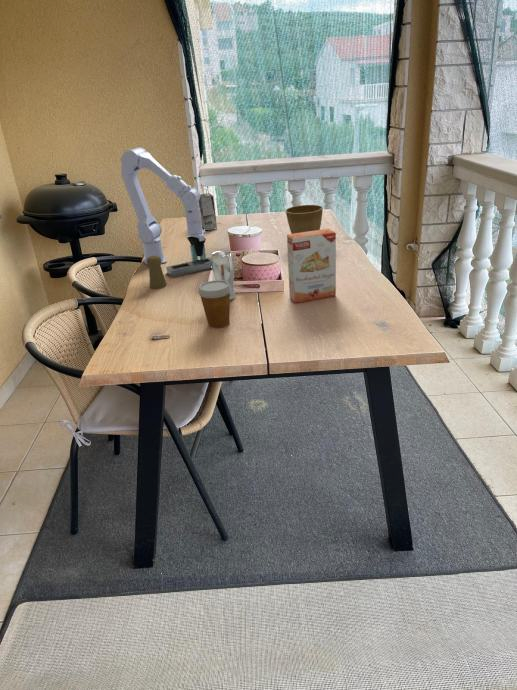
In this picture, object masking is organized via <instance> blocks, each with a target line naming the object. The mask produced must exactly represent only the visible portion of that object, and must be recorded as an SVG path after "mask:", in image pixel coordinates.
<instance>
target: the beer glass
mask: <svg viewBox="0 0 517 690" xmlns="http://www.w3.org/2000/svg"><path fill="white" fill-rule="evenodd" d="M211 258H212V268H211V269H212V274H213V277H214V281H215V280H222V281H226V282H228V283H229V285H230V287H231V291H230V301H232V300H234V299H235V298H236V296H237V295H236V292H235V288H234V287H235V286H234V280H235V277H234V276H235V264H234V258H233V253H232V251H230V250H219V251H218V250H217V251H215V252H213V253H211Z"/></svg>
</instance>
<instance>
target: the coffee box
mask: <svg viewBox="0 0 517 690" xmlns="http://www.w3.org/2000/svg"><path fill="white" fill-rule="evenodd" d="M198 202H199V208H200V215H201V222H202V227H203V228H204V229H205V230H208V231H210V230H209V229H214V230H216V229H215V228H217V229H218V224H217V217H216V208H215V207H216V206H215V199H214V195H213V194H211V193H210V192H208V193H202V194H201V193H200V199H199V201H198ZM203 228H202V229H203ZM204 229H203V230H204Z"/></svg>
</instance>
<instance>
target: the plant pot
mask: <svg viewBox="0 0 517 690" xmlns="http://www.w3.org/2000/svg"><path fill="white" fill-rule="evenodd" d="M323 210H324V209H323V206H322V205H319V204H302V205H301V204H300V205H295V206H291V207H289V208H286V209H285V215H286V218H287V224H288V227H289V231H290V234H294V233H301V232H308V231H315V230H321V226H322V219H323V212H324V211H323Z"/></svg>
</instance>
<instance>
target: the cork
mask: <svg viewBox="0 0 517 690" xmlns="http://www.w3.org/2000/svg"><path fill="white" fill-rule="evenodd" d="M161 262H162V261H161V258H160V257H159V256H150V257H148V258H147V264H146V266H148V272H149V274H148V275H149V288H150V289H152V290H159V288H160V289H164V288H166V287H167V286H166V285H167V282H166V278H165V274H164V272H163V269H162V263H161Z"/></svg>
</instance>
